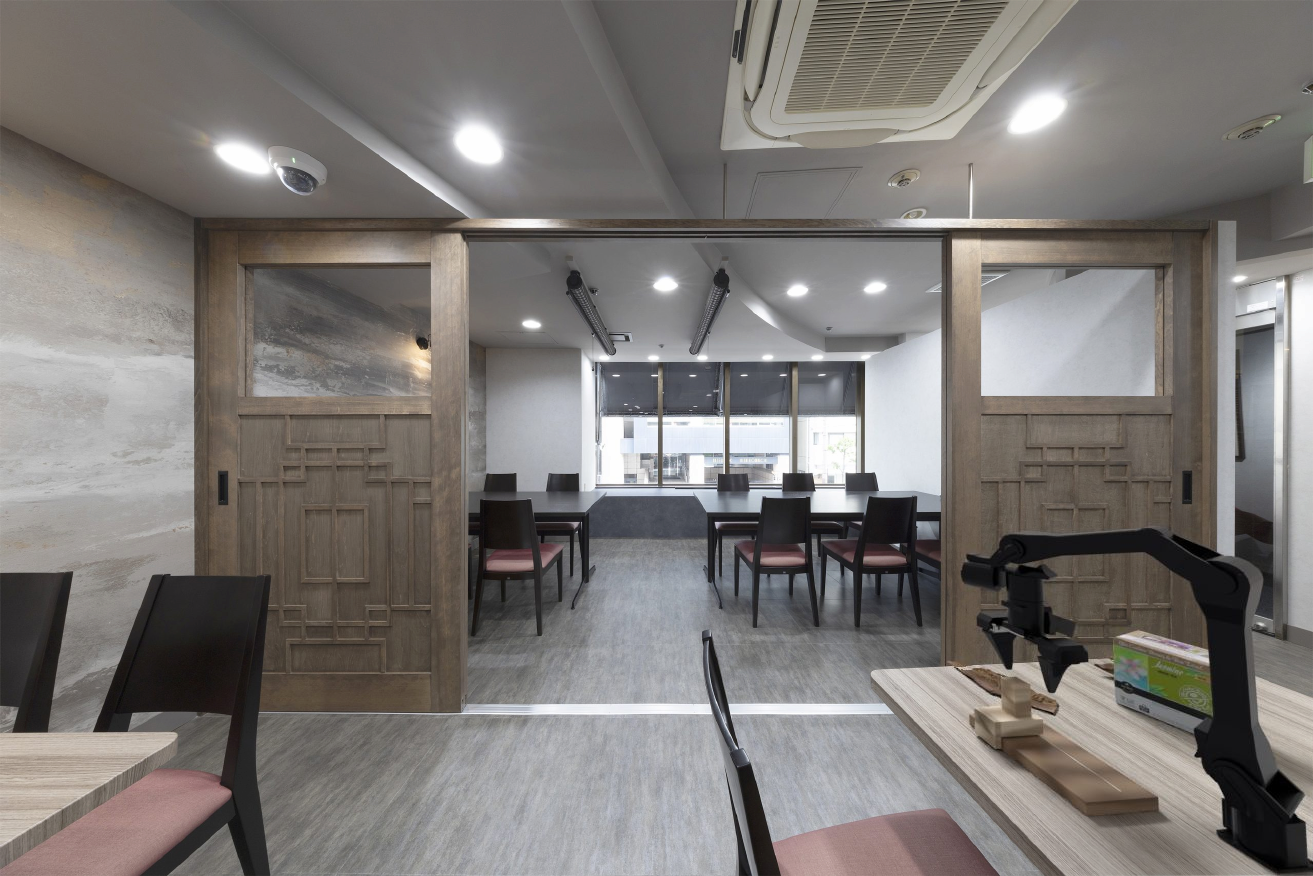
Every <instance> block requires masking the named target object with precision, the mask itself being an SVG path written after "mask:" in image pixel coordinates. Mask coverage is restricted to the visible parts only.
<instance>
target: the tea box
mask: <svg viewBox="0 0 1313 876" xmlns="http://www.w3.org/2000/svg"><path fill="white" fill-rule="evenodd" d="M1112 638H1113V643H1112V644H1113V645H1112V646H1113V649H1112V650H1113V657H1114V662H1113V663H1114V675H1113V677H1114V679H1113V681H1114V682H1113V684H1114V699H1115V703H1116V704H1118V705H1122V706H1124V707H1126V708H1130V709H1132V710H1135V711H1138V712H1139V713H1143V714H1144V715H1147V716H1150V717H1152V718H1155V719H1156V720H1159V721H1161V722H1164V723H1166V724H1169V725H1171V726H1174V727H1176V728H1178V729H1181V730H1183V731H1185V732H1188V733H1190V734H1193V735H1194V728H1195V727H1196V726H1197V725H1198V724H1200V723H1201V722H1202V721H1203V720H1204V719H1205V718H1207V717H1208V718H1210V719H1212V718H1213V710H1212V695H1211V681H1210V667H1209V653H1208V648H1202V647H1199V646H1196V645H1192V644H1189V643H1186V642H1182V641H1178V640H1174V639H1172V638H1168V637H1164V636H1160V635H1157V634H1153V633H1151V632H1150V633H1149V632H1146V631H1142V630H1138V629H1137V630H1135V631H1131V632H1128V633H1125V634H1120V635H1117V636H1113V637H1112Z"/></svg>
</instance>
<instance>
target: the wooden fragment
mask: <svg viewBox="0 0 1313 876" xmlns="http://www.w3.org/2000/svg"><path fill="white" fill-rule="evenodd" d="M945 662H947V663H948V664H949V665H951V666H952V667H954V668H956V667H966V666H973V665H971V664H965V663H960V662H957V661H951V660H946V661H945ZM979 667H980V666H979ZM957 670H959V671H960V672H961V673H963V674H964V675H966V676H967V677H969V678H971V679H972V680H973V681H974V682H976V683H977V684H978V685H979V686H981V687H982V688H984V689H985V690H986V691H987V692H989V693H990V694H996V695H998V696H1001V676H1002V677H1009V676H1008V675H1005V674H1002V673H998V672H995V671H994V670H992V669H989V668H985V667H980V668H973V669H972V670H963V669H961V670H960V669H957ZM1058 706H1059V702H1058V701H1057V699H1054V698H1052V697H1049V696H1047V695H1045V694H1042V693H1037V692H1036V691H1035V690H1034V689H1032V688H1031V707H1034V708H1036V709H1039V710H1043V711H1048V712H1051V713H1053V715H1054V716H1055V715H1056V714H1057V713H1058V712H1059V708H1058Z"/></svg>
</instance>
